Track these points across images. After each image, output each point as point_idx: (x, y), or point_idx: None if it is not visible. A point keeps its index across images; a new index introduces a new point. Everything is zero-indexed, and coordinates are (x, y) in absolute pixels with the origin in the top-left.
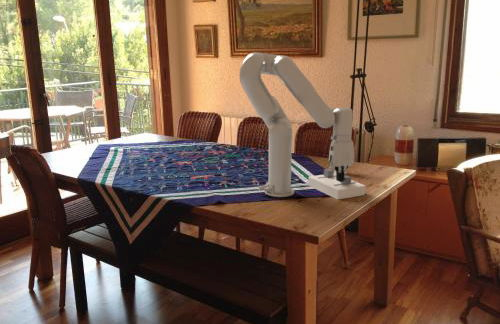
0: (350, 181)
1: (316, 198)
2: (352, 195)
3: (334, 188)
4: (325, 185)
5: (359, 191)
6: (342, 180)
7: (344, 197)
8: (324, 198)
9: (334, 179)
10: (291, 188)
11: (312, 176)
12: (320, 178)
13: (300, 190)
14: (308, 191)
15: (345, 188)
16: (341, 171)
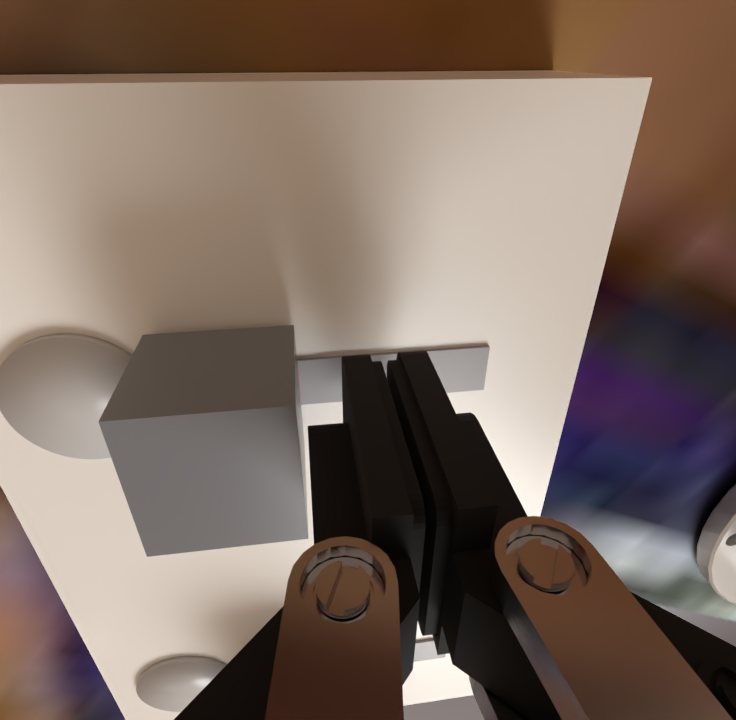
0: (145, 357)
1: (729, 251)
2: (247, 73)
3: (613, 217)
4: (551, 435)
5: (55, 78)
6: (377, 369)
7: (422, 72)
8: (657, 208)
9: (283, 582)
10: (724, 540)
11: (453, 691)
12: (424, 637)
13: (632, 513)
14: (596, 473)
15: (432, 112)
16: (412, 591)
